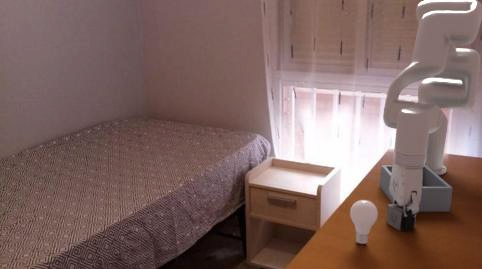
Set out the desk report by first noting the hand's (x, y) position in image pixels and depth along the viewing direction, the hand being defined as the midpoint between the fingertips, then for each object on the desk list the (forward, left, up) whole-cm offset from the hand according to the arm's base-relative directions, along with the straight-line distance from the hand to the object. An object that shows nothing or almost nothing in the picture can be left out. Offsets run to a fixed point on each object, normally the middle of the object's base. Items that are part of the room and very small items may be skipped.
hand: (402, 222), depth 118 cm
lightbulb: (+9, -13, -1) cm, 16 cm away
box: (-17, +9, -1) cm, 19 cm away
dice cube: (0, 0, -1) cm, 1 cm away
